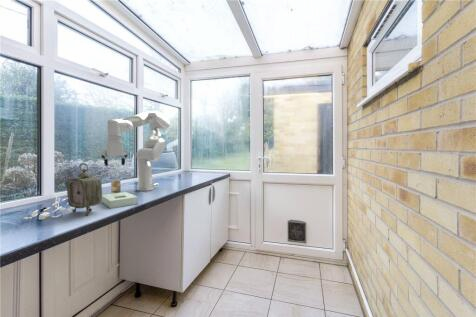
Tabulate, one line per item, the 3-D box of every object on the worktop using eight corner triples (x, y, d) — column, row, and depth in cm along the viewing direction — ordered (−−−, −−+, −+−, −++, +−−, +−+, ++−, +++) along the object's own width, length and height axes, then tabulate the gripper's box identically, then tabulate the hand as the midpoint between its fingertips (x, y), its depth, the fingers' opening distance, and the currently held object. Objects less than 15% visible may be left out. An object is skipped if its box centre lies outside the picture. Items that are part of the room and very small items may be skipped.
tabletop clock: (68, 213, 114) (65, 163, 112) (86, 208, 122) (85, 162, 121) (85, 217, 107) (83, 164, 106) (104, 212, 116) (102, 163, 114)
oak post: (118, 196, 152) (118, 179, 151) (120, 197, 149) (120, 180, 148) (111, 197, 149) (111, 180, 148) (113, 198, 146) (112, 181, 145)
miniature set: (66, 201, 134) (89, 203, 137) (22, 225, 100) (53, 227, 103) (67, 190, 134) (90, 193, 136) (23, 211, 100) (54, 214, 102)
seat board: (126, 198, 146) (125, 191, 146) (137, 203, 132) (137, 197, 132) (101, 201, 137) (101, 195, 137) (110, 208, 122) (110, 201, 122)
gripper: (126, 139, 155) (127, 164, 156) (97, 138, 143) (98, 165, 144) (130, 139, 150) (130, 165, 150) (100, 138, 138) (101, 166, 139)
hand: (114, 165), depth 147 cm, fingers open, 9 cm apart
